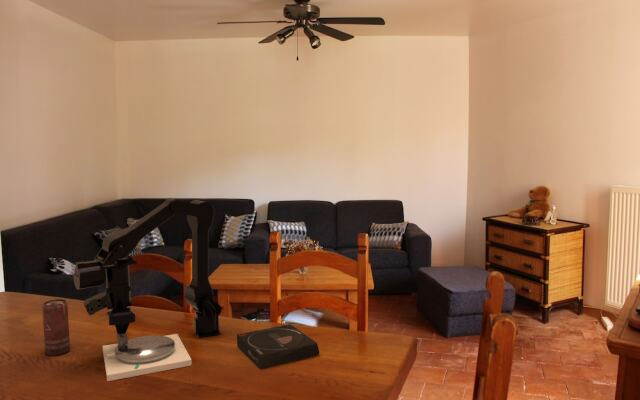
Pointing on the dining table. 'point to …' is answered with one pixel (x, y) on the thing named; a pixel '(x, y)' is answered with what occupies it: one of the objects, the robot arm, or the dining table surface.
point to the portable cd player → (276, 346)
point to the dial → (142, 348)
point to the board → (126, 370)
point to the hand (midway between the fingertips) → (121, 339)
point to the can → (56, 327)
